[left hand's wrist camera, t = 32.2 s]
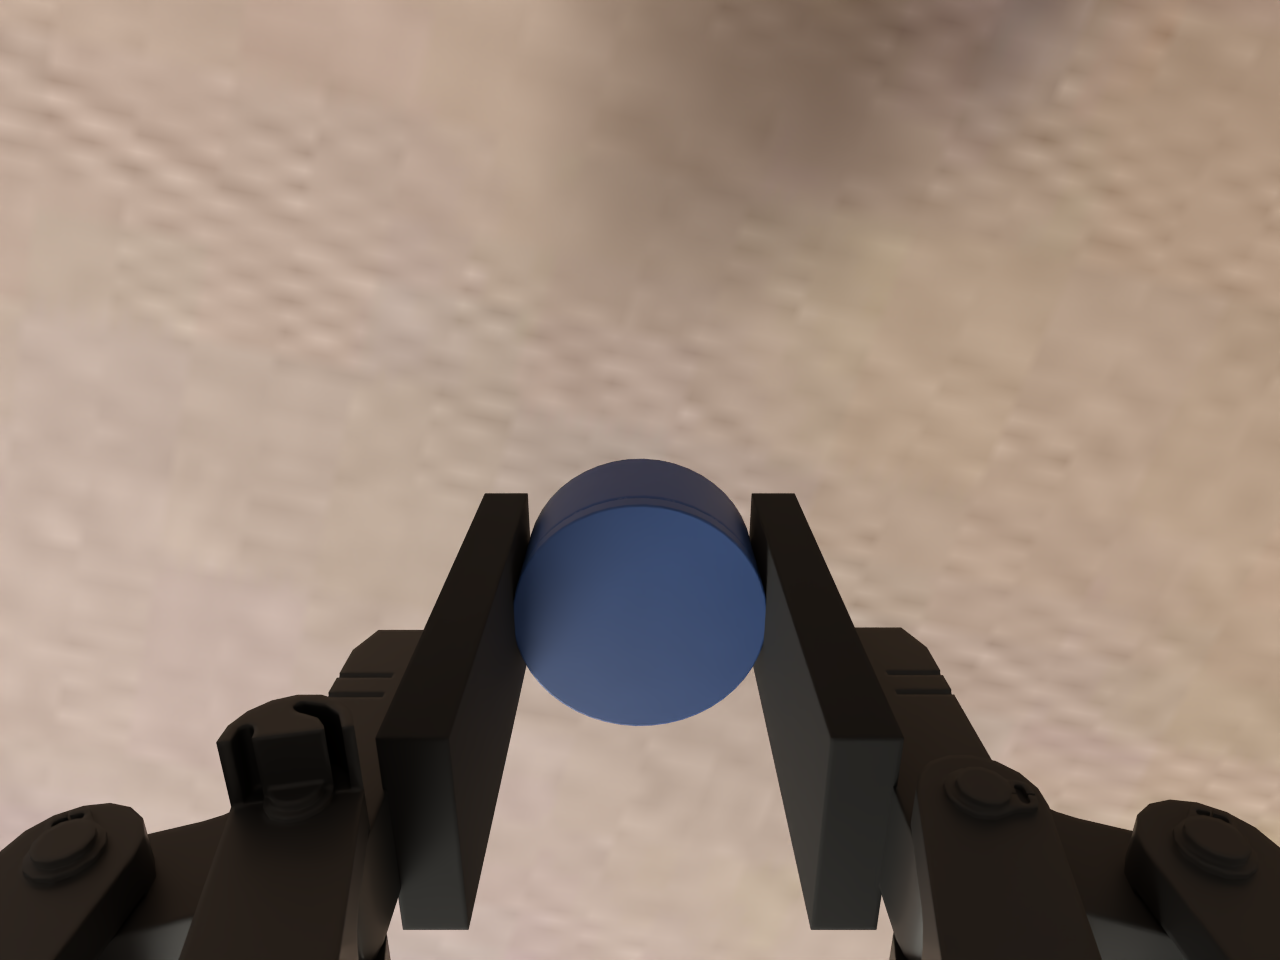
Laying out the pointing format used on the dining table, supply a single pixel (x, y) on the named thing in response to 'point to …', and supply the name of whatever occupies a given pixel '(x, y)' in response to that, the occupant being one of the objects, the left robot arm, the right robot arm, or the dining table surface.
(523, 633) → the cap
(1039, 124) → the dining table surface
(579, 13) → the dining table surface
